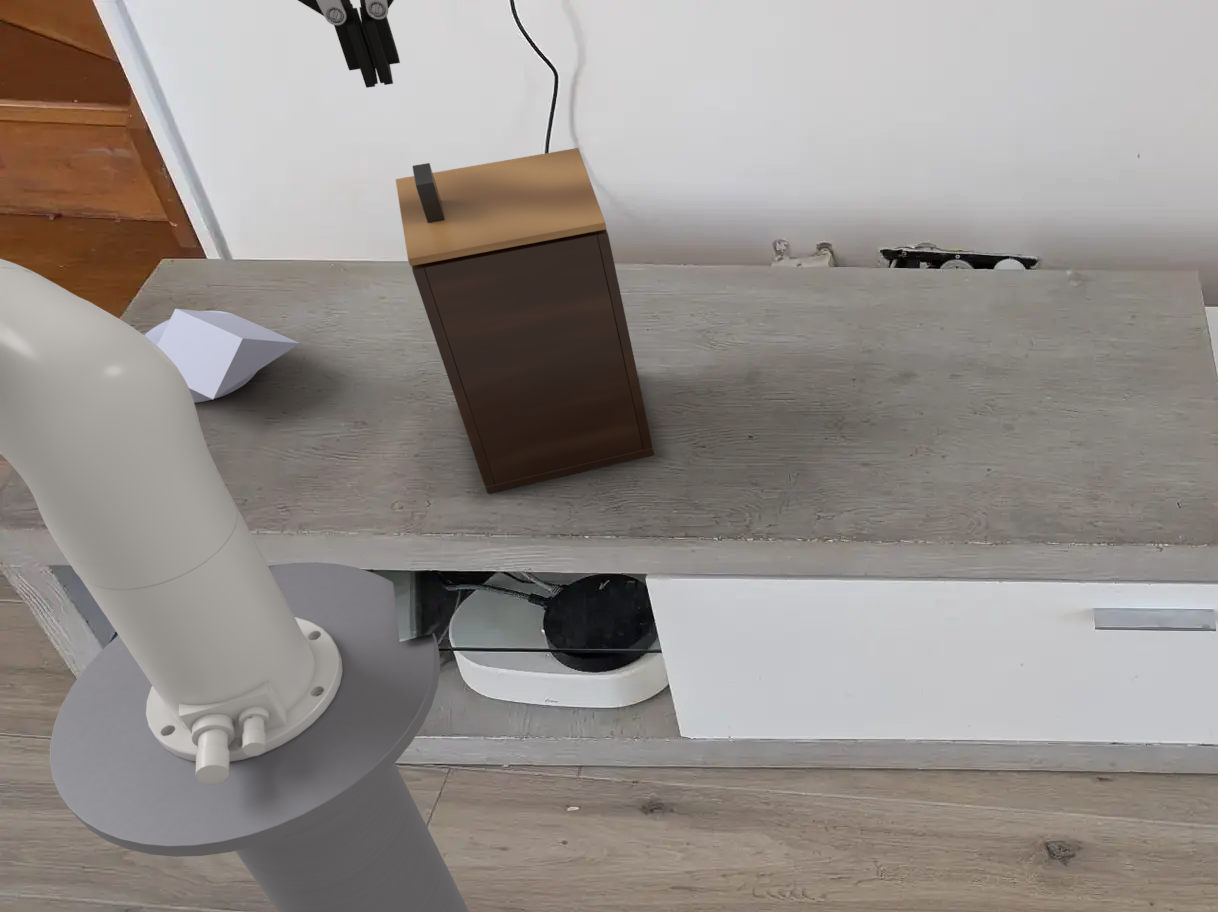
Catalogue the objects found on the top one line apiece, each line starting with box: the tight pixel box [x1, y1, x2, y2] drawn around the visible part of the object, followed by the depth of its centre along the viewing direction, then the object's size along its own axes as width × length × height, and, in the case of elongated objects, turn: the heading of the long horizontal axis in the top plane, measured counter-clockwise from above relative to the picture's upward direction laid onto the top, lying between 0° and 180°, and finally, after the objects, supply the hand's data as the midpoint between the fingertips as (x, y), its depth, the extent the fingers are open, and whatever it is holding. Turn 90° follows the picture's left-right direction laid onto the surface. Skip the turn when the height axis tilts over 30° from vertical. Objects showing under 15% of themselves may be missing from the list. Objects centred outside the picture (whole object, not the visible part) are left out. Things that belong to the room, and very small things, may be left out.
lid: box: [395, 147, 607, 267], centre depth 96 cm, size 12×14×4 cm
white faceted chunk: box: [143, 308, 300, 404], centre depth 115 cm, size 9×7×13 cm
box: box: [411, 228, 655, 494], centre depth 105 cm, size 12×14×21 cm
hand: (378, 76), depth 83 cm, fingers closed
